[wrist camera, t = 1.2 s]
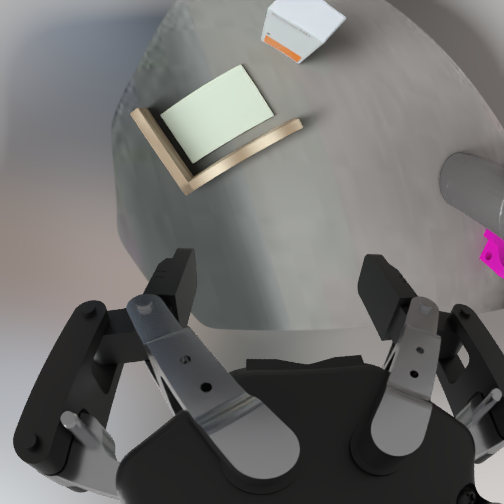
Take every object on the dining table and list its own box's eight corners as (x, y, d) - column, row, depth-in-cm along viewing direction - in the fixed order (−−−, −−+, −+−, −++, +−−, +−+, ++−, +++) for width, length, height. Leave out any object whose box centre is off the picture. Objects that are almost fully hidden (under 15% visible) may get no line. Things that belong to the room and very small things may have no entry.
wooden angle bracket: (246, 45, 27) (246, 38, 24) (297, 126, 32) (303, 127, 29) (140, 113, 30) (130, 113, 27) (191, 188, 36) (185, 195, 32)
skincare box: (259, 41, 26) (265, 7, 16) (278, 19, 25) (292, -20, 14) (299, 66, 28) (324, 43, 17) (317, 44, 26) (349, 16, 16)
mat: (240, 64, 28) (240, 64, 28) (273, 115, 31) (274, 115, 31) (161, 114, 31) (160, 115, 30) (193, 163, 34) (192, 163, 34)
